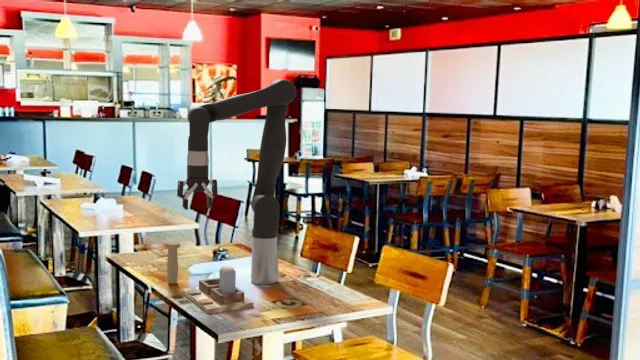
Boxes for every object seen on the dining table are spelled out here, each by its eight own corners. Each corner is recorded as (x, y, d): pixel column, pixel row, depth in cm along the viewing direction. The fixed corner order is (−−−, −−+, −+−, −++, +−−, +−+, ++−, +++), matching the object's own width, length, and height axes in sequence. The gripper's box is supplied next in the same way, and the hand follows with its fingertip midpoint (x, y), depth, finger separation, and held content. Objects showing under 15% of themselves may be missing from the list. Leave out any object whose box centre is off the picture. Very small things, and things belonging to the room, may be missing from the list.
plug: (230, 296, 219) (230, 265, 218) (235, 300, 216) (235, 268, 215) (219, 298, 217) (219, 266, 216) (223, 301, 214) (224, 269, 212)
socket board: (224, 287, 235) (224, 275, 234) (253, 306, 215) (253, 293, 214) (181, 293, 227) (182, 280, 226) (207, 313, 206) (207, 300, 206)
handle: (169, 286, 234) (170, 245, 232) (162, 281, 239) (162, 241, 237) (182, 284, 237) (182, 243, 235) (175, 279, 242) (175, 240, 240)
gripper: (212, 161, 238) (212, 205, 240) (174, 162, 231) (174, 208, 233) (220, 164, 232) (220, 209, 234) (182, 165, 224) (181, 211, 226)
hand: (197, 208), depth 233 cm, fingers open, 8 cm apart
